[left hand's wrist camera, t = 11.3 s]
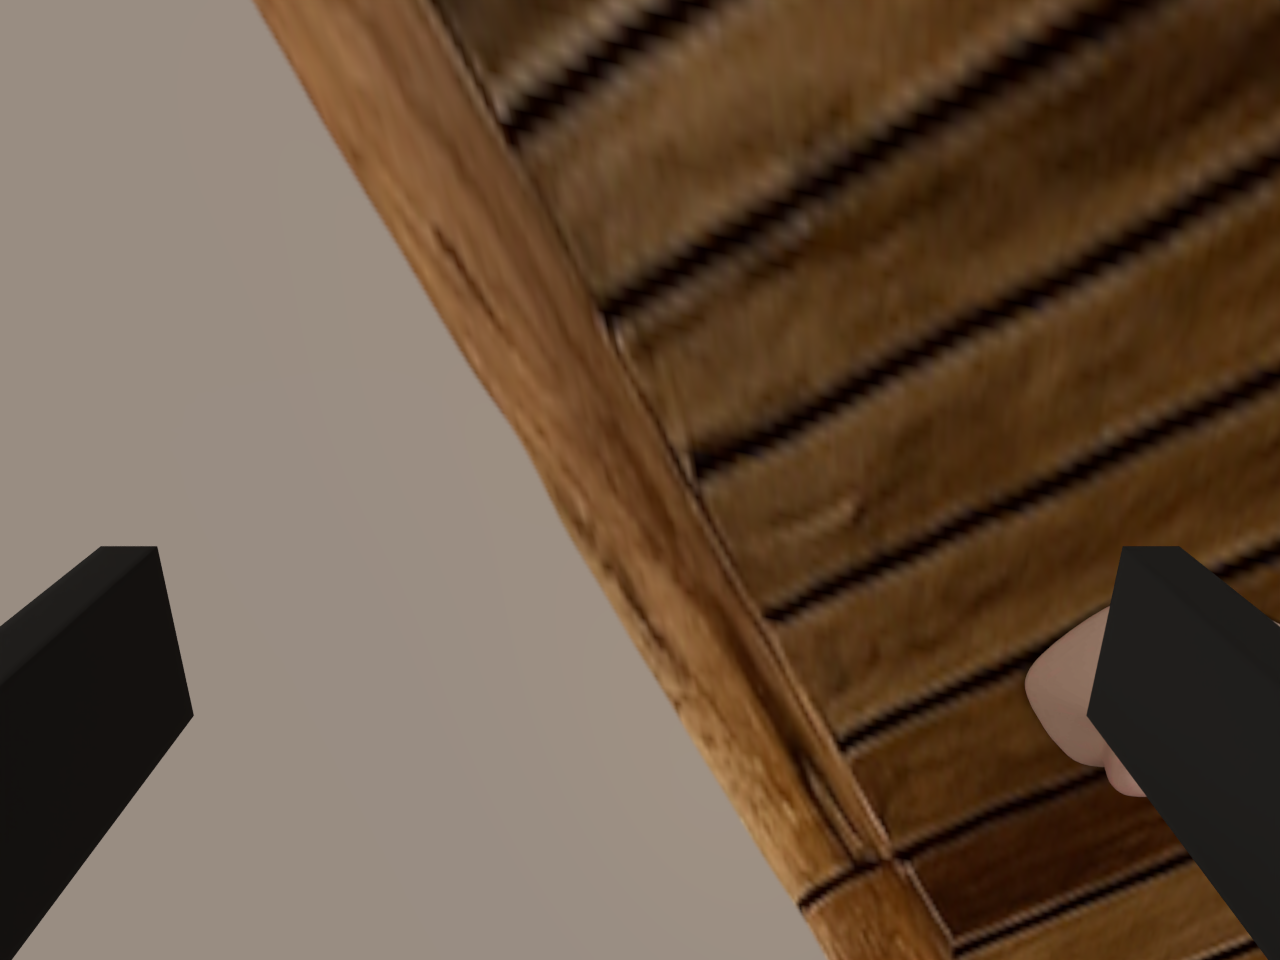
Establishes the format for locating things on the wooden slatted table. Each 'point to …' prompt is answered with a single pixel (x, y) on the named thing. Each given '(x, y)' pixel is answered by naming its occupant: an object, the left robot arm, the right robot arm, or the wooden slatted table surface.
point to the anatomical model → (1076, 699)
